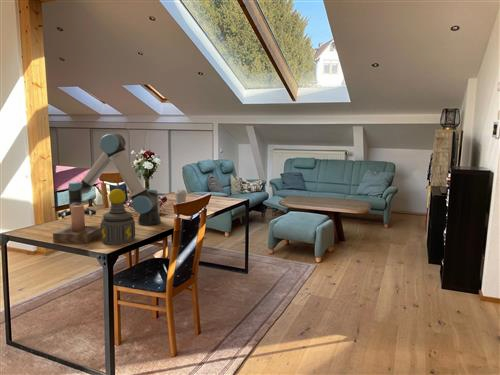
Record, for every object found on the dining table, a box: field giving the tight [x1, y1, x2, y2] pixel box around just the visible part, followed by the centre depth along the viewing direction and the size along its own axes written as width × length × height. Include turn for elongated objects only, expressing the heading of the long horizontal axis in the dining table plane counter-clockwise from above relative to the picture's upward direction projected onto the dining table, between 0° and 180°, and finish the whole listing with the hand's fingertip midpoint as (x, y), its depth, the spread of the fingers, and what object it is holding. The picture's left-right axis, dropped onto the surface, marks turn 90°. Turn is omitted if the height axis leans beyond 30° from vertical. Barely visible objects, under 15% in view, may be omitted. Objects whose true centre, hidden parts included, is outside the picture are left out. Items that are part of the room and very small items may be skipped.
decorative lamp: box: [100, 188, 136, 245], centre depth 215 cm, size 19×19×30 cm
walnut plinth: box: [52, 224, 101, 244], centre depth 219 cm, size 20×18×5 cm
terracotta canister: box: [70, 204, 86, 231], centre depth 218 cm, size 7×7×14 cm
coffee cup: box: [174, 189, 187, 203], centre depth 306 cm, size 10×10×15 cm
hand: (77, 216), depth 215 cm, fingers open, 13 cm apart
